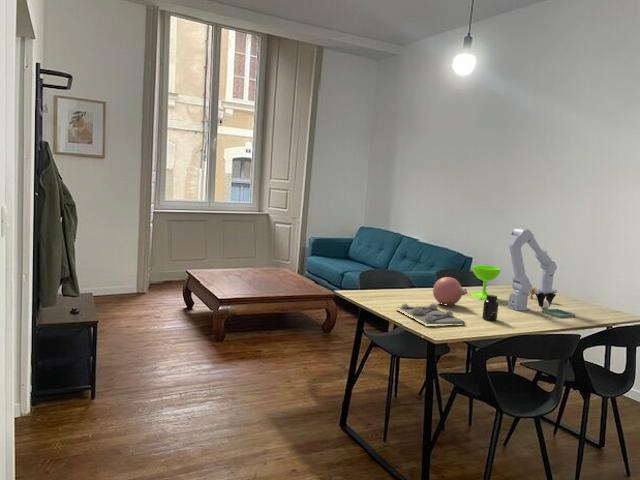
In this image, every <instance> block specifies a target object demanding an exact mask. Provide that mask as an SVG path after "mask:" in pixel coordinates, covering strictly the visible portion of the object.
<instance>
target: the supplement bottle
mask: <svg viewBox="0 0 640 480" xmlns="http://www.w3.org/2000/svg"><path fill="white" fill-rule="evenodd" d="M497 298H498V295H494V294H491V295H487V298H486V299H487V300H483V307H482V308H483V309H482V319H483V318H484V319H483V320H485V319H486V320H485V321H488V320H490V321H489V322H495V321H497V319H498V313H499V312H498V311H499V301H497V300H498V299H497Z"/></svg>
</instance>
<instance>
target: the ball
mask: <svg viewBox="0 0 640 480" xmlns="http://www.w3.org/2000/svg"><path fill="white" fill-rule="evenodd" d="M540 308H541V309H542V310H547V309H549V308H550V306H549V302H548V301H547V300H546V299H544V303H543V307H540Z"/></svg>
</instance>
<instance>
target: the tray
mask: <svg viewBox="0 0 640 480" xmlns="http://www.w3.org/2000/svg"><path fill="white" fill-rule="evenodd" d="M541 311H542V312H541V313H542V314H545V315H549V316H552V317H555V318H557V319H565V318H567V319H568V318H575V317H576V314H575V313H572V312H569V311H566V310H563V309H559V308H553V309H552V308H551V309H549V308H547V309H542V310H541Z"/></svg>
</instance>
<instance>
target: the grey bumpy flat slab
mask: <svg viewBox="0 0 640 480" xmlns="http://www.w3.org/2000/svg"><path fill="white" fill-rule="evenodd" d="M397 308H400V309H401V310H403V311H405V312H407V313H408V314H410V315H412V316H413V317H415V318H417V319H419V320H421V321H423V322H424V323H426V324H464V325H465V324H466V322H465V320H463V319H461V318H458V317H457V316H454V312H453V311H452V310H451V309H448V310H446V311H443V310H441V309H438V308H439V306H438V305H437V303H436V302H435V303H434V302H433V301H432V303H429V304H428V305H426V306H425V305H423V306H422V305H421V306H419V305H415V306H409V304H408V303H406V302H403V303H402V304H401V305H400V306H398V307H397Z"/></svg>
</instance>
